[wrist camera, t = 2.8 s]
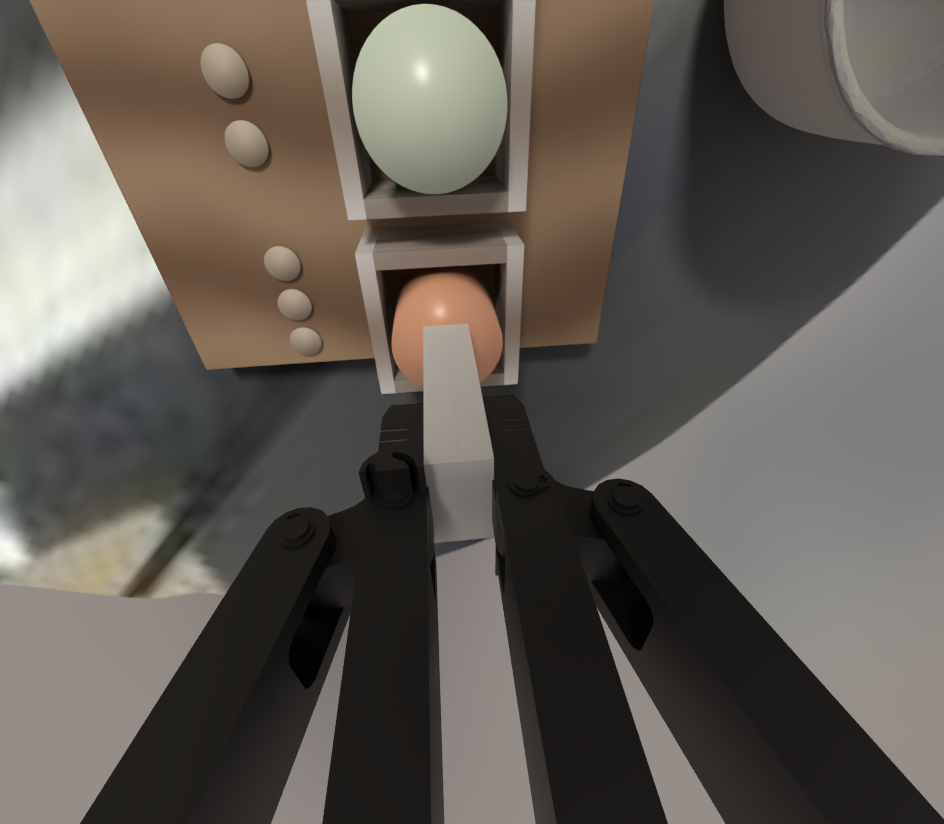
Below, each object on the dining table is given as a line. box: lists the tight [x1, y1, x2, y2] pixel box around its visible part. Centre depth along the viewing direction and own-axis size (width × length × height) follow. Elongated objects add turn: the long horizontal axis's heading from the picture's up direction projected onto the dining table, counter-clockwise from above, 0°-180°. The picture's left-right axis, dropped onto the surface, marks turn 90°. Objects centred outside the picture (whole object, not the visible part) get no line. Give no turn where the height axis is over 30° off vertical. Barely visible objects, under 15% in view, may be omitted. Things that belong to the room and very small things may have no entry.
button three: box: [392, 266, 503, 388], centre depth 17 cm, size 4×4×3 cm
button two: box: [352, 4, 507, 194], centre depth 12 cm, size 4×4×3 cm
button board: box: [30, 0, 655, 394], centre depth 14 cm, size 20×19×5 cm
